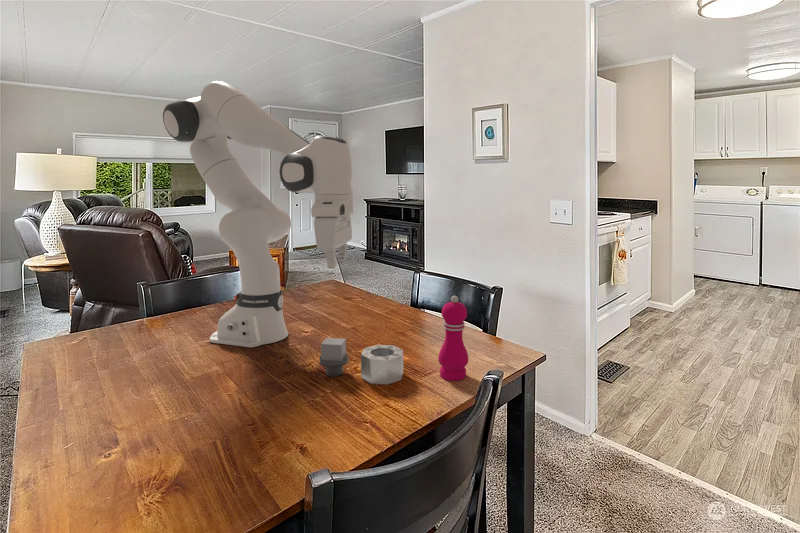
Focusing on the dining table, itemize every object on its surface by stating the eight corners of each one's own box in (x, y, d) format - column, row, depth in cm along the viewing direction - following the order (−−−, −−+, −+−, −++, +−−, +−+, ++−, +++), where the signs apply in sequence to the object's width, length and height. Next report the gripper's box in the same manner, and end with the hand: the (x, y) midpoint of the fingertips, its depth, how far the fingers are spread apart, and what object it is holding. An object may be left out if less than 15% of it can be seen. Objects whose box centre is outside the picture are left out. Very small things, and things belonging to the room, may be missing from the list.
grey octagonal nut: (358, 383, 109) (358, 358, 107) (366, 366, 118) (366, 344, 117) (399, 385, 107) (399, 360, 106) (404, 368, 117) (404, 345, 116)
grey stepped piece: (316, 378, 111) (315, 345, 110) (324, 366, 118) (323, 335, 116) (344, 379, 110) (344, 347, 109) (351, 368, 117) (350, 337, 116)
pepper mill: (435, 370, 116) (436, 292, 112) (464, 369, 116) (466, 291, 113) (440, 382, 109) (442, 300, 105) (471, 381, 109) (473, 299, 106)
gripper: (332, 204, 120) (335, 257, 122) (308, 209, 100) (312, 272, 102) (356, 204, 119) (358, 257, 122) (337, 209, 99) (340, 272, 102)
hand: (337, 264), depth 112 cm, fingers open, 8 cm apart
